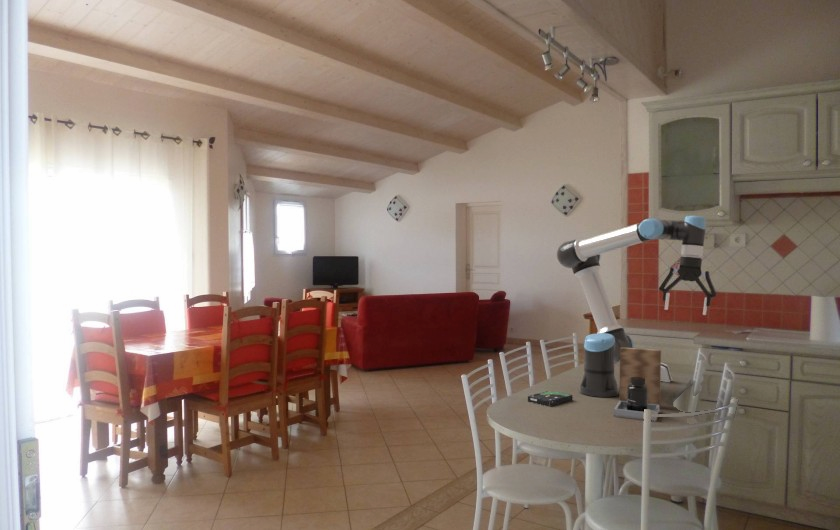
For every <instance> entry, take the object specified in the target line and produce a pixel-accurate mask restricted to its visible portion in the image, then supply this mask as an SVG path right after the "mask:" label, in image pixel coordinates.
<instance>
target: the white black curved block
mask: <svg viewBox="0 0 840 530" xmlns="http://www.w3.org/2000/svg"><path fill="white" fill-rule="evenodd" d="M670 380H672V381H673V377H672V375H671V371H670V368H669V366H668V364H666V363H663V362H661V381H665V382H664V383H666V382H670V383H671V381H670Z"/></svg>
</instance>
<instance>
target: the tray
mask: <svg viewBox="0 0 840 530" xmlns="http://www.w3.org/2000/svg"><path fill="white" fill-rule="evenodd" d="M647 409H650V410H651V411H652V412H654V413H659V414H660V409H659V405H655V404H648V405H647ZM643 413H644V412H640V411H632V410H627V401H618V402H617V404H616V405H615V407H614V408H613V417H617V418H624V419H633V420H641V421H644V420H643ZM657 420H658V417H657V418H652V421H651V422H657Z"/></svg>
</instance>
